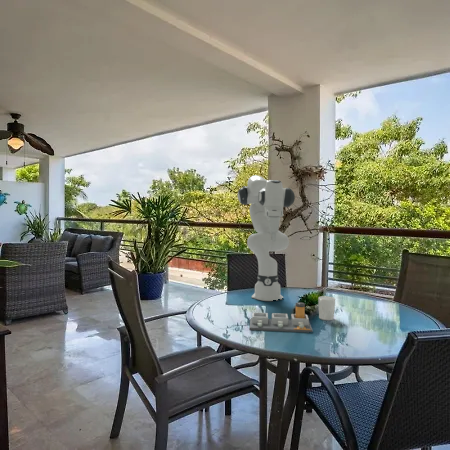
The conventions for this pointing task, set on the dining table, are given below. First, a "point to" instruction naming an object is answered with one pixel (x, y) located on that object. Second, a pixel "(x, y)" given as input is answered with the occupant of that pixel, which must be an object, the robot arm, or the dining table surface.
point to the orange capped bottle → (300, 310)
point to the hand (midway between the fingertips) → (273, 240)
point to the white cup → (326, 307)
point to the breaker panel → (275, 327)
